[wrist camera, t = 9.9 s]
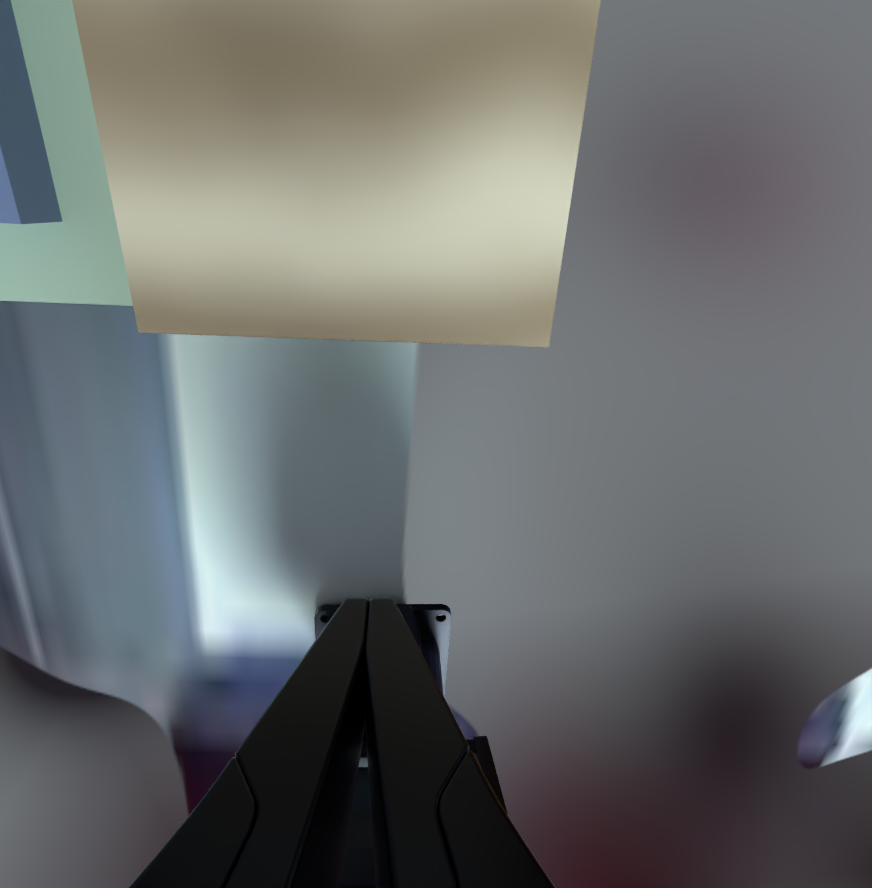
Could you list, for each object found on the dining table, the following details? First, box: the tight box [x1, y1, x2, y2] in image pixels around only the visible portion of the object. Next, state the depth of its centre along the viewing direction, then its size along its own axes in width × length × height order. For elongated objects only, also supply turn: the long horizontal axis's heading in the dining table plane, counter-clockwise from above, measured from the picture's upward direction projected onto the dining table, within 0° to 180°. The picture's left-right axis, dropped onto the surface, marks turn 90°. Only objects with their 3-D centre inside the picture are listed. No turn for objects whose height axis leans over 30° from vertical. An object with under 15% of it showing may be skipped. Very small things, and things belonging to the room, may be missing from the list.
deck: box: [72, 0, 601, 347], centre depth 14 cm, size 13×12×4 cm
